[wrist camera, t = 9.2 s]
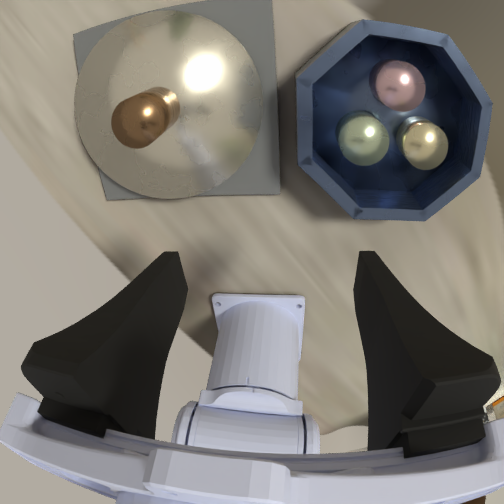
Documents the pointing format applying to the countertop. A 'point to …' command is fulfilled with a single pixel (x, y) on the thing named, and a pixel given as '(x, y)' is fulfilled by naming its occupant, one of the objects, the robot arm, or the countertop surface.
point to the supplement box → (499, 408)
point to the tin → (391, 121)
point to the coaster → (263, 55)
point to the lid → (168, 104)
